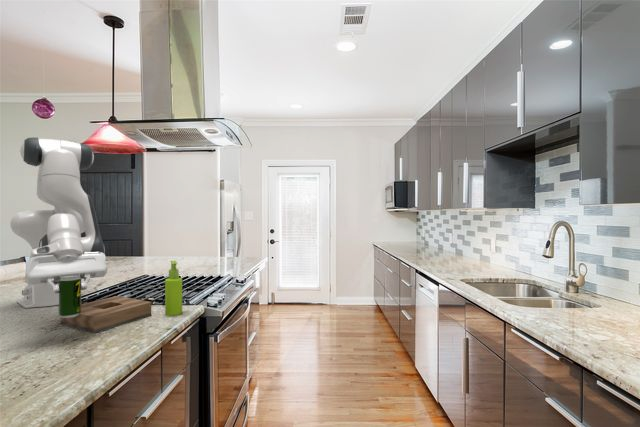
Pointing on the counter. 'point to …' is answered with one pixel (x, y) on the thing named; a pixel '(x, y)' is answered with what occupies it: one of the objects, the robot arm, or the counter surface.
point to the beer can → (69, 296)
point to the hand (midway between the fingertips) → (70, 290)
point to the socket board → (109, 313)
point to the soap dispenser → (173, 292)
